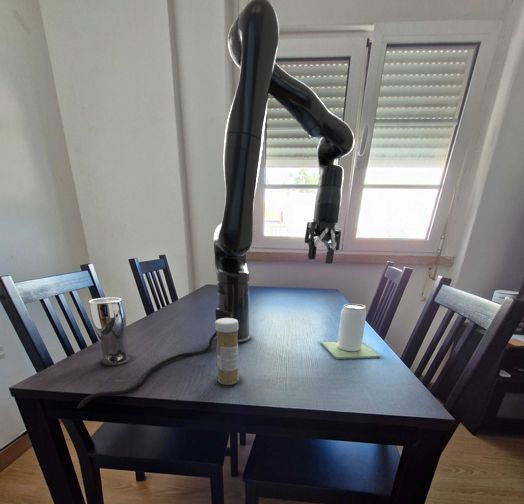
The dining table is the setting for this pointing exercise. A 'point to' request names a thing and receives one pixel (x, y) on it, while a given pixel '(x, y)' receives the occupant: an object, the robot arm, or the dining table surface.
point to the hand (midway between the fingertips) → (320, 261)
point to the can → (351, 327)
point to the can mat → (340, 354)
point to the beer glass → (110, 329)
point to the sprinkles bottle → (227, 350)
